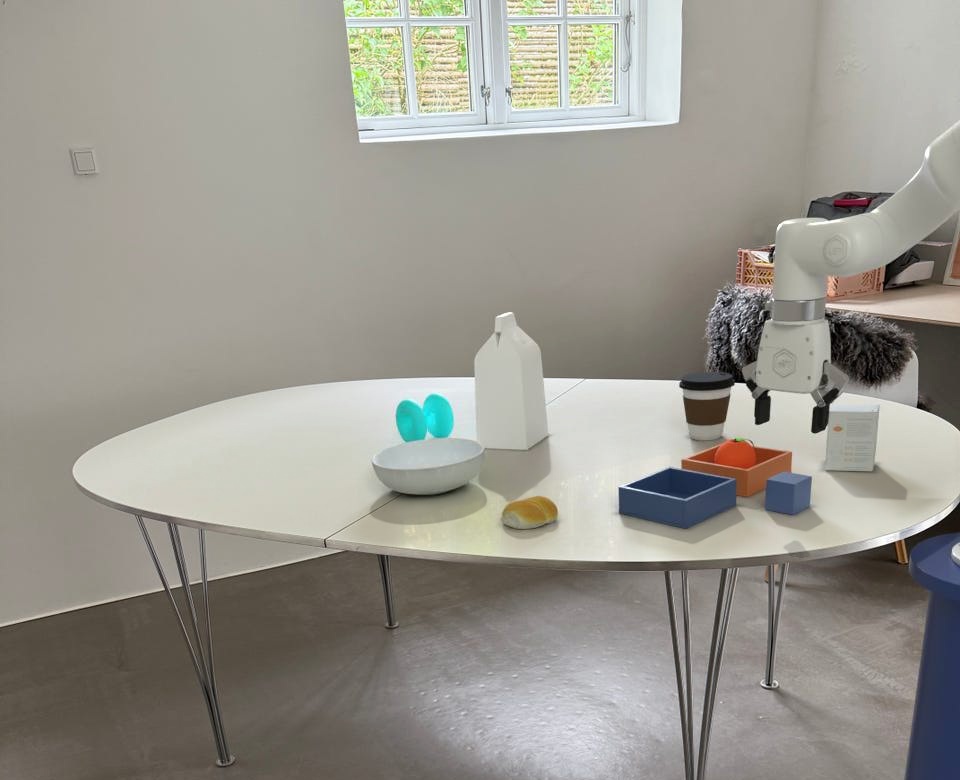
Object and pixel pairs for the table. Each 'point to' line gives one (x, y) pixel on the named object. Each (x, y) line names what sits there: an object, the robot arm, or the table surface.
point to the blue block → (788, 493)
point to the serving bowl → (429, 465)
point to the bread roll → (530, 513)
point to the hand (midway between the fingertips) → (789, 427)
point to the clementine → (736, 454)
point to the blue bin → (677, 496)
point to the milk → (509, 389)
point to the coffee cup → (706, 403)
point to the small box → (852, 437)
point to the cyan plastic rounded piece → (424, 418)
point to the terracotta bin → (747, 479)
